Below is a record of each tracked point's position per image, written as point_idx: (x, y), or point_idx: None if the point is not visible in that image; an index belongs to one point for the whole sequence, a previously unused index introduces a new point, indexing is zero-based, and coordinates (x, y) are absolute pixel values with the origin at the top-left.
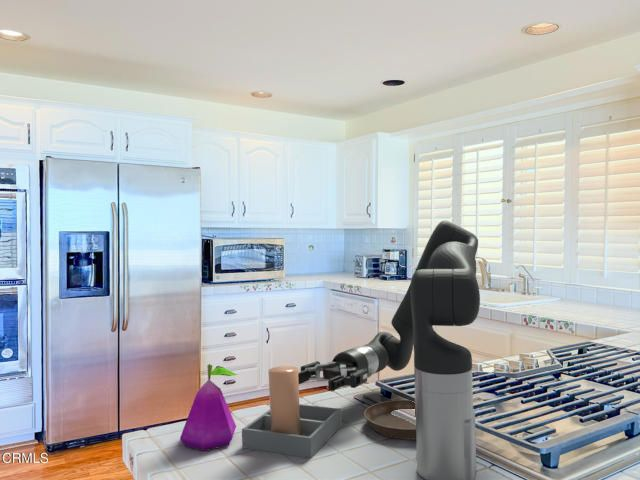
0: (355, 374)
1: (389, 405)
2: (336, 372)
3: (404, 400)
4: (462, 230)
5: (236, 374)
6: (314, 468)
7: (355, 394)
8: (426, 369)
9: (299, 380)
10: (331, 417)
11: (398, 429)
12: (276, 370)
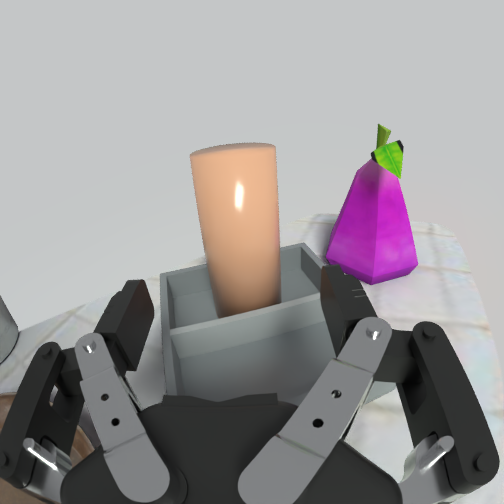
0: (37, 367)
1: None
2: (165, 402)
3: None
4: None
5: (398, 175)
6: (149, 288)
7: None
8: None
9: (322, 294)
10: (164, 362)
11: (15, 394)
12: (245, 146)
